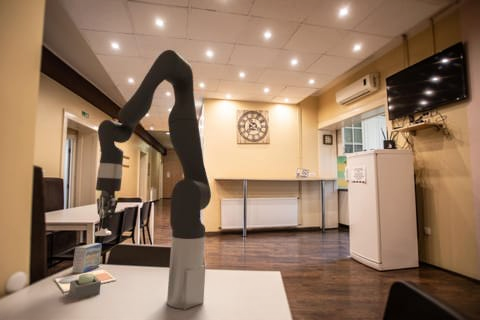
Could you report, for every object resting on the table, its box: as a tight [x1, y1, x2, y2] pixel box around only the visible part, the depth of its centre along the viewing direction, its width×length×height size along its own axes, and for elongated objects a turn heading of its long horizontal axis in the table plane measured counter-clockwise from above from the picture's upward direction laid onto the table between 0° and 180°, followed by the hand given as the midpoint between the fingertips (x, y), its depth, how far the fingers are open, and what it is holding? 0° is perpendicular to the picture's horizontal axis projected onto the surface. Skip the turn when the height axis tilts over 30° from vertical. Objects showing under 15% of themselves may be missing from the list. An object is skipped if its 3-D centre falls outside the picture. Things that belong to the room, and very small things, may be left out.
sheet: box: [54, 269, 117, 294], centre depth 75 cm, size 13×14×1 cm
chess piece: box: [94, 207, 112, 237], centre depth 79 cm, size 5×5×10 cm
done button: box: [78, 274, 94, 285], centre depth 66 cm, size 4×4×2 cm
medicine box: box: [72, 242, 103, 274], centre depth 86 cm, size 8×4×9 cm, turn 171°
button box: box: [68, 276, 102, 301], centre depth 66 cm, size 6×6×3 cm
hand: (103, 228), depth 79 cm, fingers closed on chess piece
